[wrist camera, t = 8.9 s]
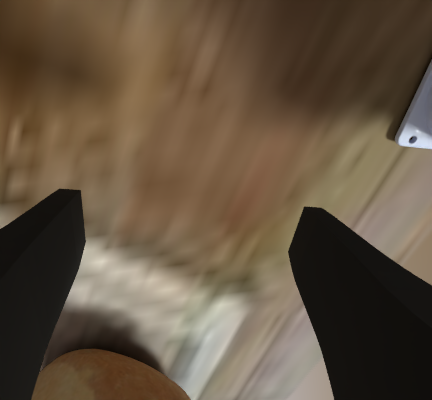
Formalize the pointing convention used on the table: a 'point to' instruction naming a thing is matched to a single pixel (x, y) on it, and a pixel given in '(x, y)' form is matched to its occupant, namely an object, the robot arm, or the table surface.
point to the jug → (103, 379)
